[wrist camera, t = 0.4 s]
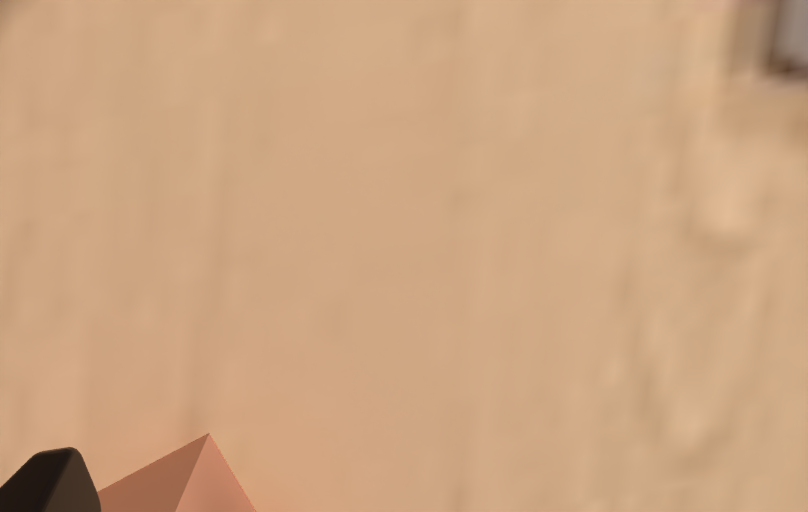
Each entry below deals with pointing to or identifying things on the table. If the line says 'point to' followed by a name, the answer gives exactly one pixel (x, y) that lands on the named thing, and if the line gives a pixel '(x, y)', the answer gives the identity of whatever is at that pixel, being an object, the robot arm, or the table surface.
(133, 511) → the terracotta cube
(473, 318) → the table surface
